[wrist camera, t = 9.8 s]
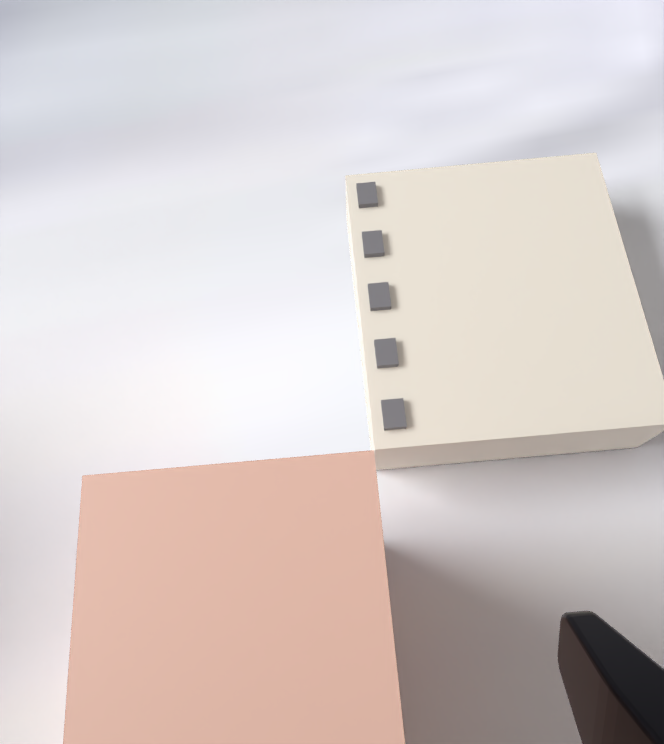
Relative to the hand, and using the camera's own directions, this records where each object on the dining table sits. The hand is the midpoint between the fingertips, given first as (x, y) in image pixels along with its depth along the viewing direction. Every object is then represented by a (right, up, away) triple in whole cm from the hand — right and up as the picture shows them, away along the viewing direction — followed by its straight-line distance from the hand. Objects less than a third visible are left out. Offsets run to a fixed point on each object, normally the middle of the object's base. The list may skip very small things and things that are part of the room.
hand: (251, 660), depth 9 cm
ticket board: (+6, +6, +11) cm, 14 cm away
